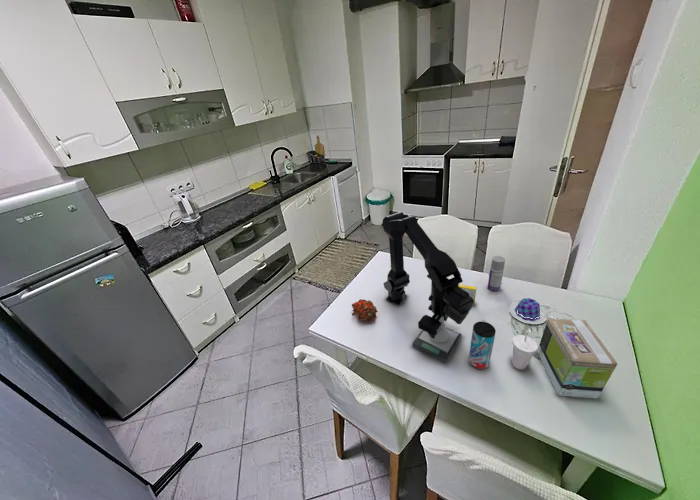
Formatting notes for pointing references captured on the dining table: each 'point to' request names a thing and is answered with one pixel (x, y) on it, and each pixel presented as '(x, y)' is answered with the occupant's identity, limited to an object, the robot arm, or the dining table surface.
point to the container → (496, 274)
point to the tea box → (575, 358)
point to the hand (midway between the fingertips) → (438, 329)
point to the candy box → (469, 290)
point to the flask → (441, 333)
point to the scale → (437, 345)
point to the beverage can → (481, 345)
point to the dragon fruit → (364, 310)
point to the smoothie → (523, 350)
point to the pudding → (527, 311)
